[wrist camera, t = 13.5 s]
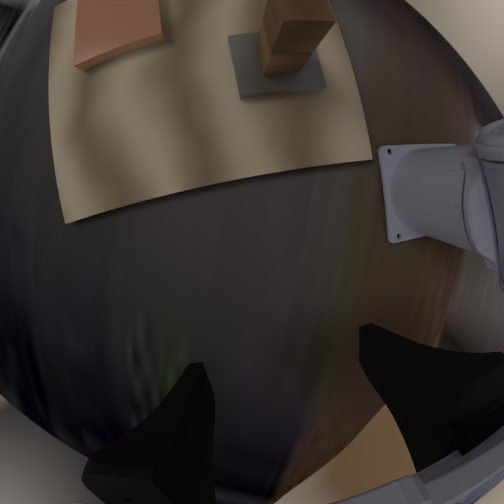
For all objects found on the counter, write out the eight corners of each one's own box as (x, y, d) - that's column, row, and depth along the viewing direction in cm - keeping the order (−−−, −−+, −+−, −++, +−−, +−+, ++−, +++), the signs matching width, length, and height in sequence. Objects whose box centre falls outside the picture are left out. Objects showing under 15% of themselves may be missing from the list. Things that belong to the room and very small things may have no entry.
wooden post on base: (306, 35, 16) (345, -27, 8) (321, 90, 18) (376, 45, 9) (227, 41, 16) (229, -29, 8) (240, 99, 17) (248, 46, 9)
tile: (165, 41, 16) (158, -22, 14) (161, 33, 14) (155, -32, 12) (82, 71, 15) (84, 5, 13) (74, 65, 14) (78, -3, 12)
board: (303, -43, 14) (305, -49, 13) (366, 160, 20) (372, 159, 19) (59, 10, 14) (55, 6, 13) (71, 222, 19) (65, 223, 18)
